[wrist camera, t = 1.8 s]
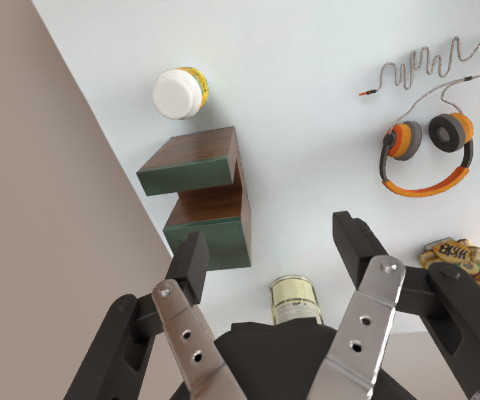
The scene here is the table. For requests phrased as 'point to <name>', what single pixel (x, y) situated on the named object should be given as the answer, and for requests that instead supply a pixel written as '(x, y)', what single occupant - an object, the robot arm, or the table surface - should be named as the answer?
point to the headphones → (440, 130)
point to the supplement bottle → (180, 93)
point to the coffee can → (293, 299)
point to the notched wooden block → (204, 194)
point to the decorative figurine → (453, 255)
